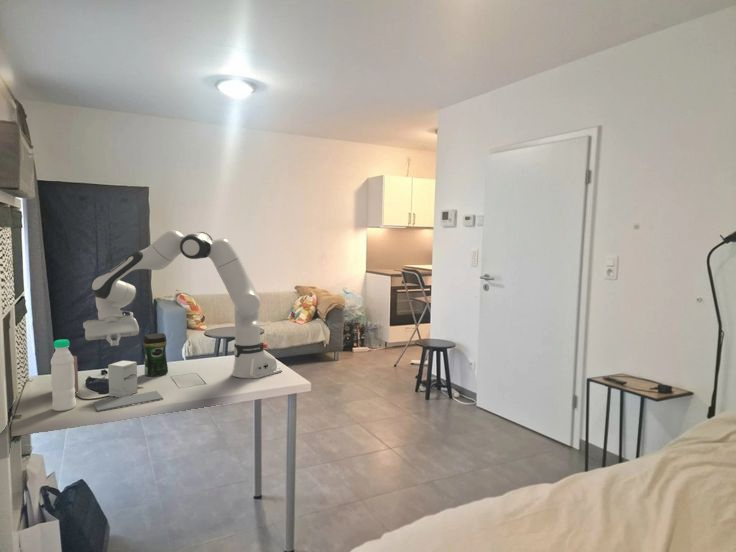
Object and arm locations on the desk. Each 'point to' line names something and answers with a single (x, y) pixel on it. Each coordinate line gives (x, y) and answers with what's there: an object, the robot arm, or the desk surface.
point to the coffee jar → (155, 354)
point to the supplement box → (122, 378)
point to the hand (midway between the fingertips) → (115, 345)
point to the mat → (127, 400)
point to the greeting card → (75, 373)
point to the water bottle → (63, 377)
